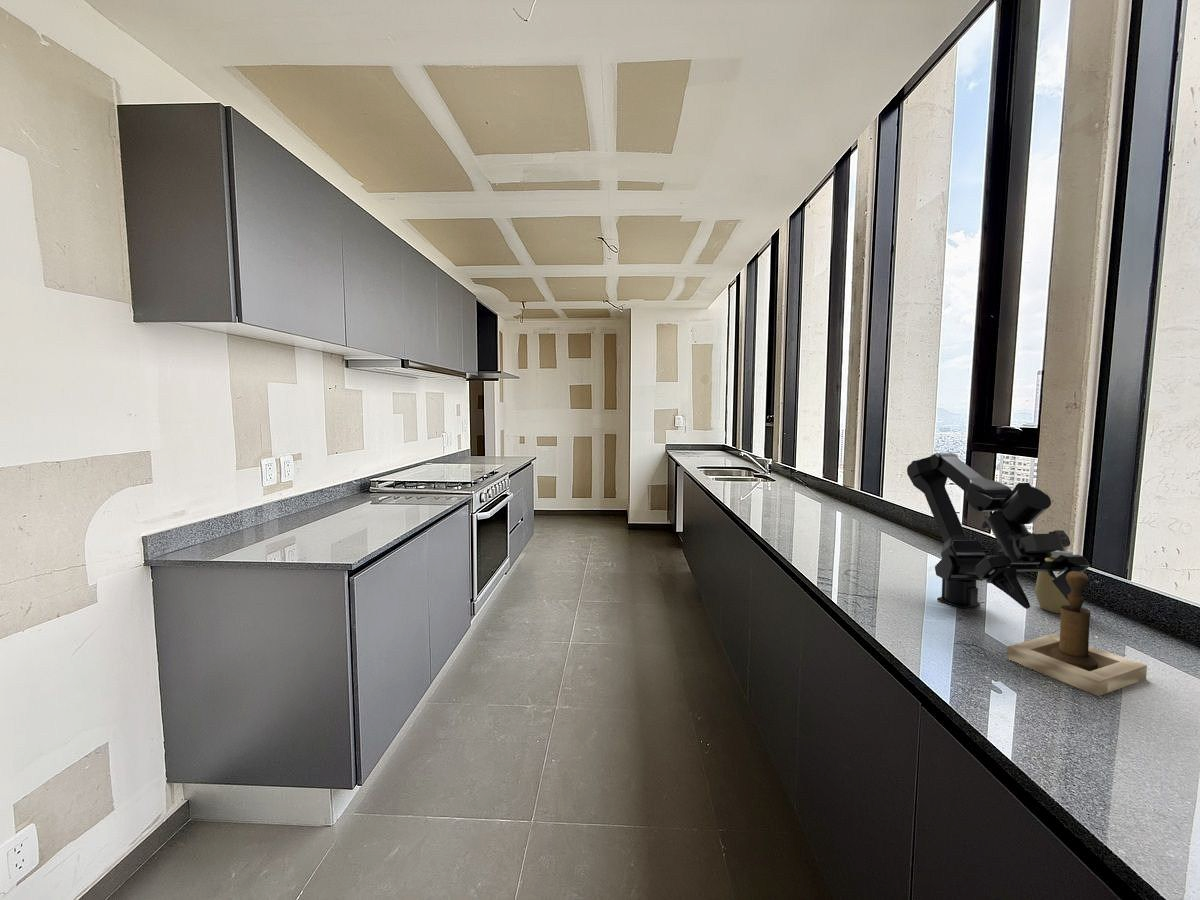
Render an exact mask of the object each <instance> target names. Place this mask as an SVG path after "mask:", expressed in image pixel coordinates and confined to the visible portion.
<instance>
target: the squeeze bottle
mask: <svg viewBox="0 0 1200 900" xmlns="http://www.w3.org/2000/svg"><path fill="white" fill-rule="evenodd" d="M1051 554H1052V555H1051V556H1050V557H1049V558H1045V561H1053V560H1055V559H1056V558H1057V557H1059V556H1060V555H1074V552H1073V550H1071V549H1069V548H1068V549H1067V547H1064V550H1063V551H1060V550H1058V551H1053V552H1051ZM1036 577H1037V578H1036V583H1035V587H1034V593H1035V596H1036V599H1037V601H1038V603H1039V604H1038V605H1039V607H1040V608H1041V609H1043V610H1045V611H1048V612H1051V613H1056V614H1061V606H1064V605H1070V604H1069V601H1068V600H1067V599H1066V598H1065V597H1064V595H1063V594H1062V593H1061V592H1060V590H1059V589H1058V588H1057V587H1056V586H1055V584H1054V583H1053V582H1052V581H1053V580H1054V579H1055V578H1053V577H1051V576H1050V575H1049V573H1048V572H1047V571H1037V576H1036Z"/></svg>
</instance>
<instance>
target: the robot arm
mask: <svg viewBox="0 0 1200 900" xmlns="http://www.w3.org/2000/svg"><path fill="white" fill-rule="evenodd" d="M906 474H907V476H908V477H909V479H910V482H911V483H912V485H913V486H914V487H915V488H916V489H918V490H919V491H920V492H922V493H923V494H924V497H925V499H926V501H927V504H928V506H929V509H930V511H931V513H932V516H933V519H934V521H935V524H936V527H937V529H938V531H939V533H940V536H941V538H942V541H943V546H942V549H941V552H940V554H941V555H940V556H941V559H940V561H939V562H938V563H936V564H935V566H934V571H935V575H936V576H937V577H939V578H941V596H940V597H937V601H940V602H943V603H945V604H947V605H951V606H954V607H957V608H959V609H967V608H971V607H976V606H980V605H981V602H980V601H978V598H979V596H978V594H979V588H978V587H977V581H986V583H987V584H992V585H993V586H995V587H996V588H998V589H999V590H1000V591H1002V592H1003V593H1005V594H1006V595H1007V596H1009V597H1010V598H1011V599H1013V600H1014V601H1015V603H1018V604H1019V605H1020V606H1021V607H1022V608H1024V609H1026V610H1028V609H1030V607H1031V604H1030V602H1029V599H1028V597H1027V595H1026V593H1025V592H1024V589H1023V588H1022V586H1021V584H1020V582H1019V580H1018V575H1017V572H1018V573H1019V572H1038V571H1047V572H1048V573H1049V575H1050V576H1051V577H1053V578H1055V579H1054V580H1053V581H1052V582H1053V583H1054V584H1055V586H1056V587H1057V588H1058V589H1059V590H1060V592H1061V593H1062V594H1063V595H1064V597H1065V598H1066V599H1067V600H1068V594H1070V593H1071V588H1070V586H1069V584H1068V583H1067V581H1066V575H1067V574H1068V573H1069V572H1071V571H1080V572H1083V573H1084V572H1085V571H1086V570H1087V569H1088V568H1090V567H1091V565H1090V564H1089V562H1088V560H1087V558H1086V557H1085V556H1084V555H1080V554H1073V555H1060V556H1059V557H1057V558H1056V559H1055V560H1053V561H1045V558H1049V557H1050V556H1051V555H1052V554H1051V552H1053V551H1058V550H1060V551H1063V550H1064V547H1066V548H1067V547H1069V546H1071V540H1070V537H1069V536H1068V534H1067V533H1066V532H1065V531H1064V530H1062V529H1061V530H1060V529H1059V530H1058V529H1057V530H1056V529H1055V530H1053V531H1049V532H1048V533H1031V532H1030V531H1029V530H1028V528H1027V527H1026V525H1030V524H1032V523H1034V522H1035V520H1037V519H1038V518H1039V517H1041V515H1042V514H1043V513H1045V512H1046V511H1047V510H1048V509H1049V508H1050V507H1051V505H1052V500H1051V498H1050V496H1049V495H1048V494H1046V493H1045V492H1044V491H1042V490H1040V489H1038V488H1036V487H1033V486H1032V485H1031V484H1030V482H1017V484H1016V485H1015V486H1014V488H1013V489H1012V488H1010V487H1009V486H1008V485H1006V484H1004V483H1001V482H1000V481H996V480H992V479H988V478H986V477H983V476H982V475H981V474H979V473H978V472H977V471H975V470H974V469H973V468H971V467H970V466H969V465H967V463H965V462H963V461H962V460H961V459H960V458H959V457H958V455H957V454H955V453H952V452H936V453H935V454H932V455H930V456H927V457H923V458H921V459H917V460H916V459H914V460H912V461H911V462H910V464H908V466H907V468H906ZM948 479H949V480H950V481H951V482H952V483H954V484H955V485H956V486H957V487H959V488H960V489H961V490H962V491H963V492H964V493H965V500H966V501H967V503H968V504H969V505H970V506H971V508H972V509H973V510H975V511H977V512H991V513H990V515H985V516H984V520H983V522H982V524H981V525H982V526H981V527H982V529H987V530H988V529H990V530H991V532H992V533H993V535H994V537H995V539H996V541H997V543H998V545H997V546H996V547H995V548H996V550H997V552H998V553H999V552H1000V553H1001V552H1002V553H1003V554H996V555H995V554H993V555H992V554H990V555H989V554H986V553H985V551H984V549H983V546H982V545H981V544H982V543H981V542H980V541H979V540H978V539H970V538H969V537H968V536H967V535H966V532H965V530H964V528H963V525H962V523H961V521H960V519H959V517H958V514H957V511H956V510H955V507H954V505H953V503H952V500H951V498H950V496H949V493H948V491H947V489H946V484H947V481H948Z"/></svg>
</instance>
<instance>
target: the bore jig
mask: <svg viewBox="0 0 1200 900" xmlns="http://www.w3.org/2000/svg"><path fill="white" fill-rule="evenodd" d="M1059 643H1060V635H1058V634H1056V633H1052V634H1047V635H1044V636H1041V637H1036V638H1033V639H1029V640H1025V641H1021V642H1017V643H1015V644H1014V643H1013V644H1011V645H1007V646H1006V657H1005V658H1007V659H1006V660H1008V659H1010V660H1012V661H1011V662H1013V661H1015V662H1017V663H1019V664H1018V665H1020V664H1021V665H1020V666H1022V665H1023V667H1025V668H1027V667H1028V668H1027V669H1030V670H1032V669H1033V671H1035V672H1038V673H1040V674H1042V673H1043V675H1045V676H1047V675H1048V676H1047V677H1050V678H1052V679H1055V680H1058V681H1060V682H1063V683H1065V684H1068V685H1070V686H1073V687H1075V688H1078V689H1079V690H1081V691H1082V690H1083V691H1085V692H1086V693H1090V694H1092V695H1095V696H1097V697H1100V696H1102V695H1105V694H1108V693H1111V692H1114V691H1117V690H1119V689H1122V688H1125V687H1128V686H1130V685H1133V684H1136V683H1139V682H1142V681H1144V680H1147V673H1148V672H1147V671H1148V665H1147V664H1145V663H1143V662H1142V663H1141V662H1138V661H1135V660H1133V659H1129V658H1128V657H1127V658H1126V657H1123V656H1120V655H1118V654H1115V653H1111V652H1108V651H1105V650H1103V649H1099V648H1096V647H1094V646H1090V645H1089V647H1088V653H1089V654H1091V655H1092V656H1093V657H1094V658H1095V659H1096V660H1097V661H1098V669H1096V670H1093V671H1087V670H1084V669H1081V668H1079V667H1076V666H1073V665H1071V664H1068V663H1065V662H1063V661H1060V660H1057V659H1055V658H1052V657H1049V653H1050V650H1051V649H1053V648H1055V647H1059ZM1010 660H1009V661H1010ZM1015 662H1014V663H1015ZM1017 663H1016V664H1017Z"/></svg>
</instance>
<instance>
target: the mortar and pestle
mask: <svg viewBox="0 0 1200 900" xmlns="http://www.w3.org/2000/svg"><path fill="white" fill-rule="evenodd" d="M1066 581H1067V583H1068V584H1069V586H1070V588H1071V593H1070V594H1068V601H1069V604H1070V605H1064V606H1061V613H1060V624H1059V625H1060V626H1059V636H1060V643H1059V647H1055V648H1053V649H1051V650H1050V653H1049V657H1052V658H1055V659H1057V660H1060V661H1063V662H1065V663H1068V664H1071V665H1073V666H1076V667H1079V668H1081V669H1084V670H1087V671H1093V670H1096V669H1099V668H1098V661H1097V660H1096V659H1095V658H1094V657H1093V656H1092V655H1091V654H1089V653H1088V647H1089V646H1090V645H1089V644H1090V643H1089V642H1090V625H1091V624H1090V621H1091V610H1090V609H1088V608H1086V607H1082V606H1083V604H1084V601H1085V596H1084V595H1082V594H1083V593H1082V592H1083V590H1084V589H1085V588H1086V587H1087V585H1089V583H1090V582H1089V576H1088V575H1087V574H1086V573H1084V572H1080V571H1071V572H1069V573H1068V574H1067V575H1066Z"/></svg>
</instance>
